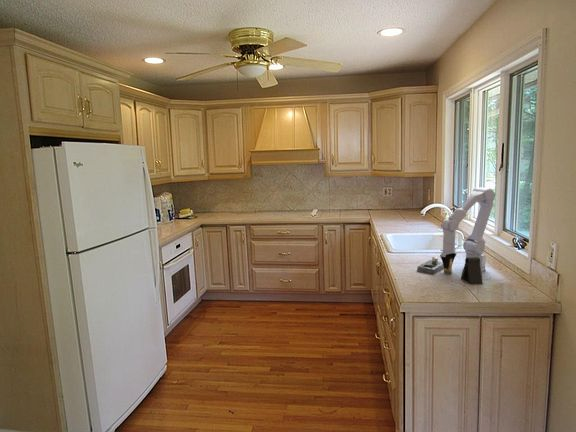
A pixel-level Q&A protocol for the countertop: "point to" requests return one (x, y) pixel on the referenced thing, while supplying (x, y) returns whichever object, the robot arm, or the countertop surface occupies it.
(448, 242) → the robot arm
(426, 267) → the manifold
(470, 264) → the phone stand
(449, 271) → the cylinder
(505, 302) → the countertop surface
